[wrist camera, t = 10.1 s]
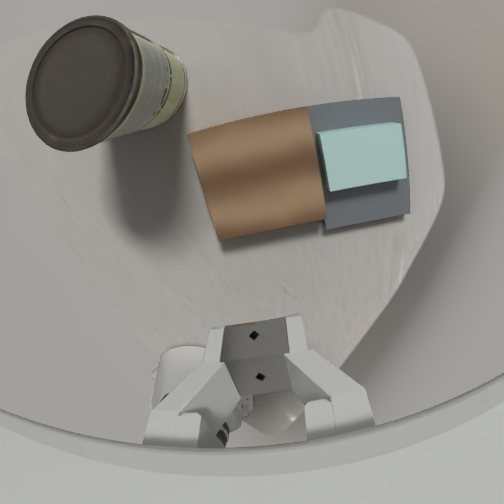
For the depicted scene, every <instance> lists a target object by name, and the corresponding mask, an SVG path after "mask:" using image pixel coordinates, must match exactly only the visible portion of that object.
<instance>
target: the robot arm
mask: <svg viewBox="0 0 504 504" xmlns="http://www.w3.org/2000/svg"><path fill="white" fill-rule="evenodd" d="M152 378H153V380H154V381H155V382H154V387H153V392H152V398H151V404H150V407H151V409H152V411H151V414H150V418H149V421H148V425H147V429H146V433H145V436H144V440H143V444H135V443H127V442H120V441H114V440H108V439H103V438H97V437H92V436H87V435H83V434H79V433H74V432H70V431H66V430H62V429H59V428H55V427H51V426H48V425H45V424H41V423H38V422H35V421H32V420H29V419H26V418H23V417H21V416H18V415H15V414H12V413H9V412H7V411H5V410H2V409H0V504H504V373H502V374H501V375H499V376H497V377H495V378H494V379H492V380H490V381H488V382H486V383H484V384H482V385H480V386H478V387H477V388H474V389H472V390H470V391H468V392H466V393H464V394H462V395H460V396H457V397H455V398H453V399H451V400H448V401H446V402H443V403H441V404H439V405H436V406H434V407H431V408H429V409H426V410H423V411H421V412H418V413H415V414H412V415H409V416H406V417H403V418H400V419H397V420H394V421H391V422H387V423H384V424H381V425H377V426H375V422H374V418H373V415H372V411H371V408H370V404H369V401H368V397H367V394H366V391H365V388H363V387H362V386H361V385H359V384H358V383H357V382H355V381H354V380H353V379H351V378H350V377H349V376H347V375H346V374H345V373H344V372H342V371H341V370H340V369H338V368H337V367H336V366H334V365H333V364H332V363H331V362H329V361H328V360H327V359H325V358H324V357H323V356H322V355H320V354H319V353H318V352H316V351H315V350H314V349H309V350H308V346H307V340H306V334H305V329H304V323H303V318H302V314H301V313H299V314H294V315H289V316H286V317H281V318H275V319H270V320H264V321H258V322H252V323H244V324H236V325H228V326H222V327H214V328H211V329H210V330H209V333H208V338H207V343H206V348H203V347H196V346H182V347H176V348H173V349H170V350H168V351H167V352H165V353H164V354H163V355H162V357H161V358H160V362H159V366H158V367H157V368H156V369H155V370H153V372H152ZM289 390H293V392H294V393H295V394H296V395H297V396H298V397H299V399H300V400H301V401H302V402H303V403H304V404H305V406H304V409H305V419H306V430H307V441H301V442H294V443H286V444H278V445H269V446H256V447H239V448H226V447H225V446H226V443H227V442H228V438H229V433H230V432H232V431H234V430H236V429H238V428H239V427H240V426H241V421H242V416H243V417H248V416H249V412H251V411H253V407H254V401H253V395H257V394H264V393H272V392H281V391H289Z"/></svg>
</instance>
